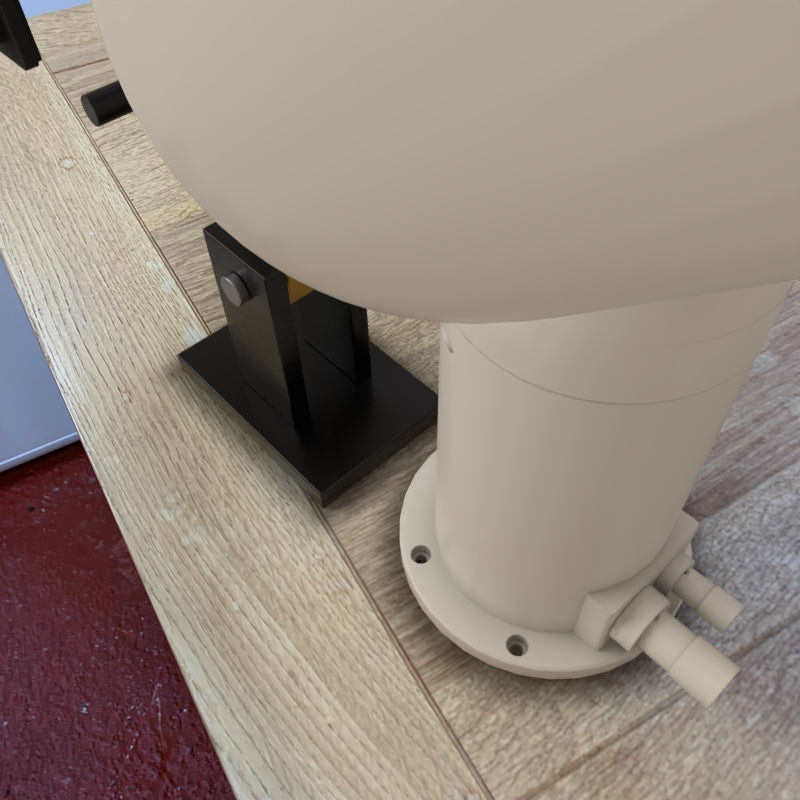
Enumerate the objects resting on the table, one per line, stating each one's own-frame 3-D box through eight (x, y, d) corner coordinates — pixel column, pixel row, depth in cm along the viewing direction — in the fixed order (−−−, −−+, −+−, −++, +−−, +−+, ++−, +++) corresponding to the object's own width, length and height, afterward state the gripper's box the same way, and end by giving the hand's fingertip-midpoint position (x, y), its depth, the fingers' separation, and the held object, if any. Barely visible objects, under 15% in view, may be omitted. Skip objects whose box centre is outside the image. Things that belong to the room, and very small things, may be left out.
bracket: (181, 369, 42) (122, 203, 34) (298, 297, 46) (271, 130, 37) (323, 509, 37) (294, 351, 28) (445, 415, 40) (451, 249, 32)
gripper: (-465, -709, 15) (-36, 131, 28) (282, -682, 22) (342, -25, 35) (-510, -660, 18) (-113, 60, 31) (141, -651, 25) (243, -68, 39)
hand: (126, 15), depth 33 cm, fingers open, 9 cm apart
